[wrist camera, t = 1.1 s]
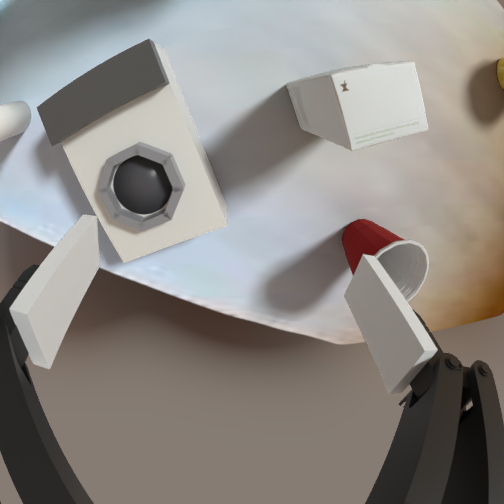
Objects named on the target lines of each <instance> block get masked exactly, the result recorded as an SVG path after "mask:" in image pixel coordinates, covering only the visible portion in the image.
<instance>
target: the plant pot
mask: <svg viewBox="0 0 504 504" xmlns="http://www.w3.org/2000/svg"><path fill="white" fill-rule="evenodd" d="M497 76H498V80H499V83H500V85H501V87H502V88H503V90H504V58H502V59H500V60H499V62H498V65H497Z"/></svg>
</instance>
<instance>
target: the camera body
mask: <svg viewBox="0 0 504 504" xmlns="http://www.w3.org/2000/svg"><path fill="white" fill-rule="evenodd" d="M37 109H38V112H39V115H40V117H41V120H42V122H43V125H44V127H45V130H46V132H47V135H48V137H49V140H50V142H51V144H52V146H53V145H55V144H58V143H60V142H61V144H62V146H63V148H64V151H65V153H66V155H67V157H68V159H69V162H70V164H71V166H72V168H73V170H74V172H75V174H76V176H77V178H78V181H79V183H80V185H81V187H82V189H83V191H84V193H85V195H86V197H87V198H88V200H89V202H90V204H91V206H92V208H93V210H94V212H95V214H96V215H97V217H98V219H99V221H100V223H101V225H102V226H103V228H104V230H105V232H106V234H107V235H108V237H109V239H110V241H111V242H112V244H113V246H114V247H115V249H116V251H117V252H118V254H119V256H120V257H121V259H122V261H123V262H124V263H126V262H129V261H131V260H134V259H137V258H139V257H142V256H145V255H147V254H150V253H153V252H155V251H158V250H161V249H164V248H166V247H169V246H172V245H175V244H177V243H180V242H183V241H186V240H188V239H191V238H194V237H197V236H200V235H202V234H205V233H208V232H211V231H214V230H217V229H220V228H222V227H225V226H228V221H227V204H226V202H225V199H224V197H223V194H222V192H221V189H220V187H219V184H218V182H217V179H216V177H215V174H214V172H213V169H212V167H211V164H210V162H209V159H208V157H207V154H206V152H205V149H204V147H203V144H202V142H201V139H200V137H199V134H198V132H197V129H196V127H195V124H194V122H193V119H192V117H191V114H190V111H189V109H188V106H187V104H186V101H185V99H184V96H183V94H182V91H181V89H180V86H179V84H178V81H177V78H176V76H175V73H174V71H173V68H172V66H171V63H170V61H169V58H168V56H167V53H166V50H165V49H163V48H162V47H160V46H159V45H157V44H156V43H154V42H153V41H151V40H150V39H148V40H145V41H143V42H141V43H139V44H137V45H135V46H133V47H131V48H129V49H127V50H125V51H123V52H121V53H119V54H118V55H116V56H114V57H112V58H110V59H109V60H107V61H105V62H103V63H102V64H100V65H98V66H96V67H95V68H93V69H91V70H90V71H88V72H87V73H85V74H83V75H82V76H80V77H79V78H77V79H76V80H74V81H73V82H71V83H70V84H68V85H67V86H65V87H64V88H62V89H61V90H60V91H58V92H57V93H55V94H54V95H53V96H51V97H50V98H49V99H47V100H46V101H45V102H43V103H42V104H41V105H39V106H38V107H37Z"/></svg>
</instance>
